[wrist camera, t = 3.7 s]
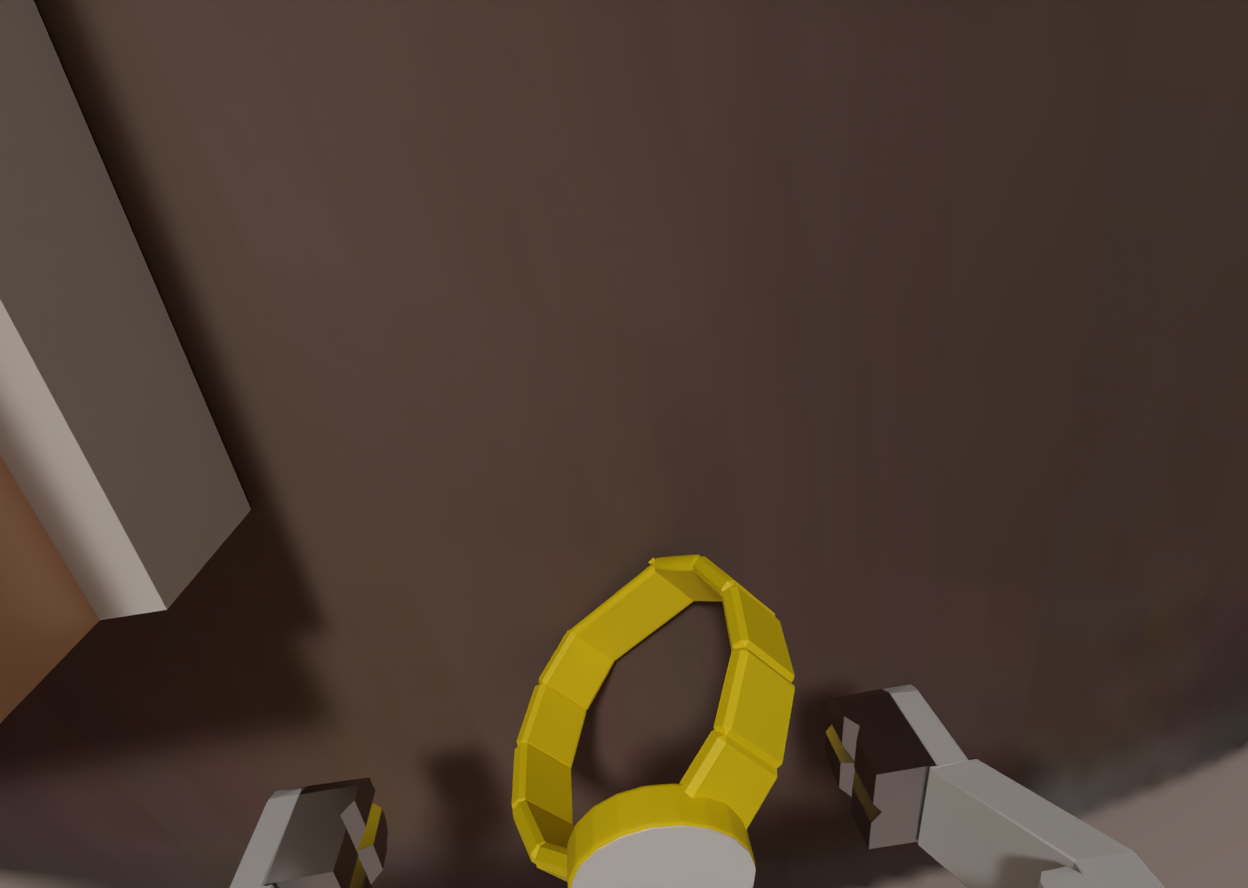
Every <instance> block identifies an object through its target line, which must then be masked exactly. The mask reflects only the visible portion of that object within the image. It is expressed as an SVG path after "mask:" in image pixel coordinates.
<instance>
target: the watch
mask: <svg viewBox="0 0 1248 888" xmlns="http://www.w3.org/2000/svg"><path fill="white" fill-rule="evenodd" d="M648 563H649V564H651V565H650V566H648V567H647V568H646V569H645V570H643V571H642V572H641V573H640V574H638V575H637V576H636V577H635V578H633V579H632V580H631V581H630V582H629V583H627V584H626V585H625V586H624V587H622V588H621V589H620V590H619V591H617V592H616V593H615V594H614V595H612V596H611V597H610V598H609V599H607V600H606V601H605V602H604V603H602V604H601V605H600V606H599V607H597V608H596V609H595V610H594V611H592V612H591V613H590V614H589V615H587V616H586V617H585V618H584V619H582V620H581V621H580V622H579V623H578V624H576V625H575V626H574V627H573V628H571V629H570V630H568V631H567V632H566V634H565V636H564V637H563V639H562V641H561V642H560V644H559V646H558V647H557V649H556V651H555V652H554V654H553V656H552V657H551V659H550V661H549V662H548V664H547V666H546V667H545V669H544V671H543V672H542V674H541V676H540V677H539V685H537V686H535V688H534V691H533V694H532V697H531V700H530V703H529V706H528V709H527V712H526V715H525V718H524V721H523V724H522V727H521V729H520V732H519V735H518V738H517V741H516V742H517V745H518V747H517V748H516V749H515V754H514V771H513V789H512V809H513V819H514V821H515V823H516V826H517V828H518V831H519V833H520V835H521V838H522V840H523V843H524V845H525V847H526V850H527V852H528V855H529V857H530V859H531V862H533V863H535V864H536V866H537V868H539V869H541V870H543V871H545V872H547V873H549V874H552V875H554V876H556V877H558V878H560V879H562V880H564V881H566V882H567V884H568V888H752V887H753V884H754V878H755V872H756V868H755V860H754V856H753V852H752V848H751V844H750V840H749V836H748V832H747V828H748V826H749V825H750V823H751V821H752V820H753V818H754V816H755V814H756V813H757V811H758V809H759V808H760V806H761V804H762V802H763V801H764V799H765V797H766V796H767V794H768V792H769V790H770V789H771V787H772V785H773V784H774V782H775V780H776V778H777V768H778V767H780V766H781V765H782V762H783V756H784V750H785V744H786V738H787V732H788V726H789V720H790V714H791V708H792V702H793V697H794V691H795V687H794V685H793V684H792V682H793V681H794V676H795V675H794V672H793V668H792V664H791V661H790V657H789V653H788V650H787V646H786V643H785V639H784V635H783V632H782V628H781V624H780V621H779V620H778V619H777V618H775V613H773V612H772V611H771V610H770V609H769V608H767V607H766V606H765V605H764V604H763V603H761V602H760V601H759V600H758V599H756V598H755V597H754V596H753V595H752V594H750V593H749V592H748V591H747V590H746V589H744V588H743V587H742V586H741V585H739V584H738V583H737V582H736V581H735V580H733V579H732V578H731V577H730V576H728V575H727V574H726V573H725V572H724V571H722V570H721V569H720V568H719V567H717V566H716V565H715V564H714V563H712V562H711V561H710V560H709V559H707V558H706V557H705V556H703V557H701V556H700V555H699V554H697V555H681V556H665V557H659V558H657V559H655V558H654V557H653V558H652V559H651V560H650V561H649V562H648ZM693 601H720V602H723V607H724V613H725V619H726V624H727V630H728V635H729V641H730V647H731V651H732V652H731V656H730V660H729V664H728V668H727V673H726V677H725V681H724V685H723V689H722V694H721V698H720V702H719V706H718V710H717V714H716V719H715V723H714V727H713V728H714V730H713V731H711V733H710V734H709V736H708V737H707V739H706V741H705V742H704V744H703V746H702V747H701V749H700V750H699V752H698V754H697V755H696V757H695V759H694V760H693V762H692V763H691V765H690V767H689V768H688V770H687V771H686V773H685V775H684V776H683V778H682V780H681V781H680V783H679V784H658V785H646V786H641V787H638V788H634V789H631V790H627V791H624V792H620V793H618V794H615V795H613V796H611V797H610V798H608V799H606V800H604V801H602V802H600V803H599V804H597V805H595V806H594V807H592V808H591V809H590V810H589V811H588V812H587V813H586V814H585V815H584V816H583V817H582V818H581V819H580V820H579V821H578V822H577V823H576V825H575V827H574V826H573V818H572V789H571V768H572V765H573V761H574V757H575V754H576V750H577V746H578V742H579V739H580V735H581V731H582V728H583V724H584V720H585V717H586V710H588V709H589V707H590V705H591V703H592V701H593V700H594V698H595V696H596V694H597V692H598V691H599V689H600V687H601V685H602V684H603V682H604V680H605V678H606V676H607V675H608V673H609V671H610V669H611V667H612V666H613V664H614V662H615V661H616V660H617V659H618V658H620V657H621V656H622V655H623V654H625V653H626V652H627V651H629V650H630V649H631V648H633V647H634V646H635V645H637V644H638V643H639V642H641V641H642V640H643V639H645V638H646V637H647V636H649V635H650V634H651V633H653V632H654V631H655V630H656V629H658V628H659V627H660V626H662V625H663V624H664V623H666V622H667V621H668V620H670V619H671V618H672V617H674V616H675V615H676V614H678V613H679V612H680V611H682V610H683V609H684V608H686V607H687V606H688V605H689V604H691V603H692V602H693Z"/></svg>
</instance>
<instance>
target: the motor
mask: <svg viewBox="0 0 1248 888" xmlns="http://www.w3.org/2000/svg"><path fill="white" fill-rule="evenodd" d="M250 510H251V508H250V506H249V503H248V501H247V499H246V496H245V494H244V492H243V489H242V487H241V485H240V482H239V480H238V478H237V475H236V473H235V471H234V468H233V466H232V464H231V461H230V459H229V456H228V454H227V452H226V449H225V447H224V445H223V442H222V440H221V438H220V435H219V433H218V431H217V428H216V426H215V424H214V421H213V419H212V417H211V414H210V412H209V410H208V407H207V405H206V403H205V400H204V398H203V396H202V393H201V391H200V389H199V386H198V384H197V382H196V379H195V377H194V375H193V372H192V370H191V367H190V365H189V363H188V360H187V358H186V356H185V353H184V351H183V349H182V346H181V344H180V342H179V339H178V337H177V335H176V332H175V330H174V328H173V325H172V323H171V321H170V318H169V316H168V314H167V311H166V309H165V307H164V304H163V302H162V300H161V297H160V295H159V293H158V290H157V288H156V286H155V283H154V281H153V278H152V276H151V274H150V271H149V269H148V267H147V264H146V262H145V260H144V257H143V255H142V253H141V250H140V248H139V246H138V243H137V241H136V239H135V236H134V234H133V232H132V229H131V227H130V225H129V222H128V220H127V218H126V215H125V213H124V211H123V208H122V206H121V204H120V201H119V199H118V197H117V194H116V192H115V189H114V187H113V185H112V182H111V180H110V178H109V175H108V173H107V171H106V168H105V166H104V164H103V161H102V159H101V157H100V154H99V152H98V150H97V147H96V145H95V143H94V140H93V138H92V136H91V133H90V131H89V129H88V126H87V124H86V122H85V119H84V117H83V115H82V112H81V110H80V108H79V105H78V103H77V100H76V98H75V96H74V93H73V91H72V89H71V86H70V84H69V82H68V79H67V77H66V75H65V72H64V70H63V68H62V65H61V63H60V61H59V58H58V56H57V54H56V51H55V49H54V47H53V44H52V42H51V40H50V37H49V35H48V33H47V30H46V28H45V26H44V23H43V21H42V18H41V16H40V14H39V11H38V9H37V7H36V4H35V2H34V0H0V723H1V722H2V721H3V720H4V719H5V718H6V717H7V716H8V715H9V714H10V713H11V712H12V711H13V710H14V709H15V707H16V706H17V705H18V704H19V703H20V702H21V701H22V700H23V699H24V698H25V697H26V696H27V695H28V694H29V693H30V692H31V691H32V690H33V689H34V688H35V687H36V686H37V685H38V684H39V683H40V682H41V681H42V679H43V678H44V677H45V676H46V675H47V674H48V673H49V672H50V671H51V670H52V669H53V668H54V667H55V666H56V665H57V664H58V663H59V662H60V661H61V660H62V659H63V658H64V657H65V656H66V655H67V654H68V653H69V651H70V650H71V649H72V648H73V647H74V646H75V645H76V644H77V643H78V642H79V641H80V640H81V639H82V638H83V637H84V636H85V635H86V634H87V633H88V632H89V631H90V630H91V629H92V628H93V627H94V626H95V625H96V624H97V622H98V621H99V620H104V619H111V618H117V617H124V616H130V615H136V614H143V613H149V612H156V611H162V610H167V609H168V608H169V607H170V606H171V604H172V603H173V602H174V601H175V600H176V599H177V597H178V596H179V595H180V594H181V593H182V591H183V590H184V589H185V588H186V587H187V585H188V584H189V583H190V582H191V581H192V579H193V578H194V577H195V576H196V575H197V573H198V572H199V571H200V570H201V569H202V568H203V566H204V565H205V564H206V563H207V562H208V560H209V559H210V558H211V557H212V556H213V554H214V553H215V552H216V551H217V550H218V548H219V547H220V546H221V545H222V544H223V542H224V541H225V540H226V539H227V538H228V537H229V535H230V534H231V533H232V532H233V531H234V529H235V528H236V527H237V526H238V525H239V523H240V522H241V521H242V520H243V519H244V517H245V516H246V515H247V514H248V513H249V511H250Z"/></svg>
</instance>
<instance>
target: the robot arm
mask: <svg viewBox="0 0 1248 888" xmlns="http://www.w3.org/2000/svg"><path fill="white" fill-rule="evenodd" d="M827 716H828V718H829V720H830V722H831V724H832V725H831V726H830V727H829V729H828V730H827V731H826V751H827V756H828V761H829V764H830V767H831V770H832V773H833V776H834V778H835V780H836V782H837V784H838V786H839V788H840V789H841V790H843V791H844V792H846V793H847V794H848V795H850V796H851V797H852V799H851V814H852V816H853V818H854V820H855V822H856V824H857V826H858V828H859V830H860V832H861V834H862V836H863V838H864V840H865V842H866V845H867V847H868V849H873V848H880V847H886V846H893V845H899V844H906V843H912V842H918V845H919V846H920V847H921V848H922V849H924V850H925V851H926V852H927V853H928V854H929V855H931V856H932V857H933V858H934V859H935V860H936V861H938V862H939V863H940V864H941V865H942V866H943V867H945V868H946V869H947V870H948V871H949V872H950V873H952V874H953V875H954V876H955V877H956V878H957V879H958V880H960V881H961V882H962V883H963V884H964V885H965V886H967V887H968V888H1165V887H1164V886H1163V885H1162V884H1161V882H1160V881H1159V880H1158V879H1157V878H1156V877H1155V875H1154V874H1153V873H1152V872H1151V871H1150V870H1149V869H1148V868H1147V866H1146V865H1145V864H1144V863H1143V862H1142V861H1141V859H1140V858H1139V857H1138V856H1137V855H1136V853H1135V852H1134V851H1132V850H1130V849H1129V848H1127V847H1125V846H1123V845H1122V844H1120V843H1118V842H1117V841H1115V840H1113V839H1112V838H1110V837H1108V836H1106V835H1105V834H1103V833H1102V832H1100V831H1098V830H1096V829H1095V828H1093V827H1091V826H1090V825H1088V824H1086V823H1085V822H1083V821H1081V820H1079V819H1078V818H1076V817H1074V816H1073V815H1071V814H1069V813H1068V812H1066V811H1064V810H1063V809H1061V808H1059V807H1057V806H1056V805H1054V804H1052V803H1051V802H1049V801H1047V800H1046V799H1044V798H1042V797H1040V796H1039V795H1037V794H1035V793H1034V792H1032V791H1030V790H1029V789H1027V788H1025V787H1024V786H1022V785H1020V784H1018V783H1017V782H1015V781H1013V780H1012V779H1010V778H1008V777H1007V776H1005V775H1003V774H1001V773H1000V772H998V771H996V770H995V769H993V768H991V767H990V766H988V765H986V764H985V763H983V762H981V761H979V760H978V759H973V760H968V759H967V757H966V756H965V754H964V753H963V752H962V750H961V749H960V748H959V746H958V745H957V743H956V742H955V741H954V739H953V738H952V737H951V735H950V734H949V732H948V731H947V730H946V728H945V727H944V726H943V724H942V723H941V721H940V720H939V719H938V717H937V716H936V715H935V713H934V712H933V710H932V709H931V708H930V706H929V705H928V704H927V702H926V701H925V699H924V698H923V697H922V695H921V694H920V693H919V691H918V690H917V689H916V688H915V687H914V686H912V685H905V686H899V687H893V688H887V689H883V690H881V689H879V690H873V691H868V692H862V693H857V694H851V695H846V696H841V697H835V698H830V699H829V701H828V703H827ZM374 794H375V789H374V787H373V785H372V782H371V780H370V778H361V779H354V780H347V781H340V782H333V783H326V784H319V785H312V786H306V787H299V788H293V789H286V790H280V791H276V792H275V793H274V794H273V795H272V796H271V797H270V798H269V800H268V801H267V803H266V805H265V808H264V810H263V812H262V814H261V817H260V819H259V821H258V824H257V826H256V828H255V830H254V833H253V835H252V837H251V840H250V842H249V844H248V846H247V849H246V851H245V853H244V856H243V858H242V860H241V862H240V865H239V867H238V869H237V871H236V874H235V876H234V878H233V881H232V883H231V885H230V887H229V888H372V886H371V884H372V882H373V881H374V880H375V879H376V878H377V876H378V875H379V874H380V873H381V871H382V870H383V867H384V862H385V857H386V852H387V835H388V831H387V824H386V818H385V815H384V812H383V810H382V808H380V807H379V806H377V805H375V804H374V803H372V802H373V798H374Z"/></svg>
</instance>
